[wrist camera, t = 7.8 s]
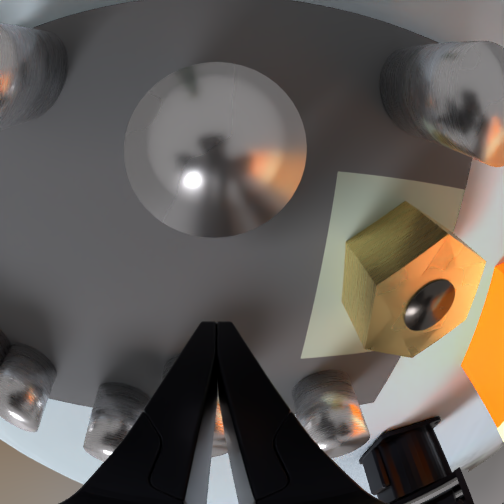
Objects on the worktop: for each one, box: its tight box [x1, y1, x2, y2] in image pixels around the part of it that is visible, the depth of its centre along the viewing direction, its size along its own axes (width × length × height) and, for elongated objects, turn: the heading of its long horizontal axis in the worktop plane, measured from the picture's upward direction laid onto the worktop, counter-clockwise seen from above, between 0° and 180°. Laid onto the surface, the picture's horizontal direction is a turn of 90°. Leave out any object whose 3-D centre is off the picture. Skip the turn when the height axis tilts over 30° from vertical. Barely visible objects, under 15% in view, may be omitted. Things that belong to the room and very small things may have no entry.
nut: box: [341, 201, 486, 358], centre depth 9 cm, size 4×5×3 cm
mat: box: [0, 0, 472, 414], centre depth 10 cm, size 23×18×1 cm
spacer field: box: [0, 23, 504, 462], centre depth 8 cm, size 22×18×4 cm
